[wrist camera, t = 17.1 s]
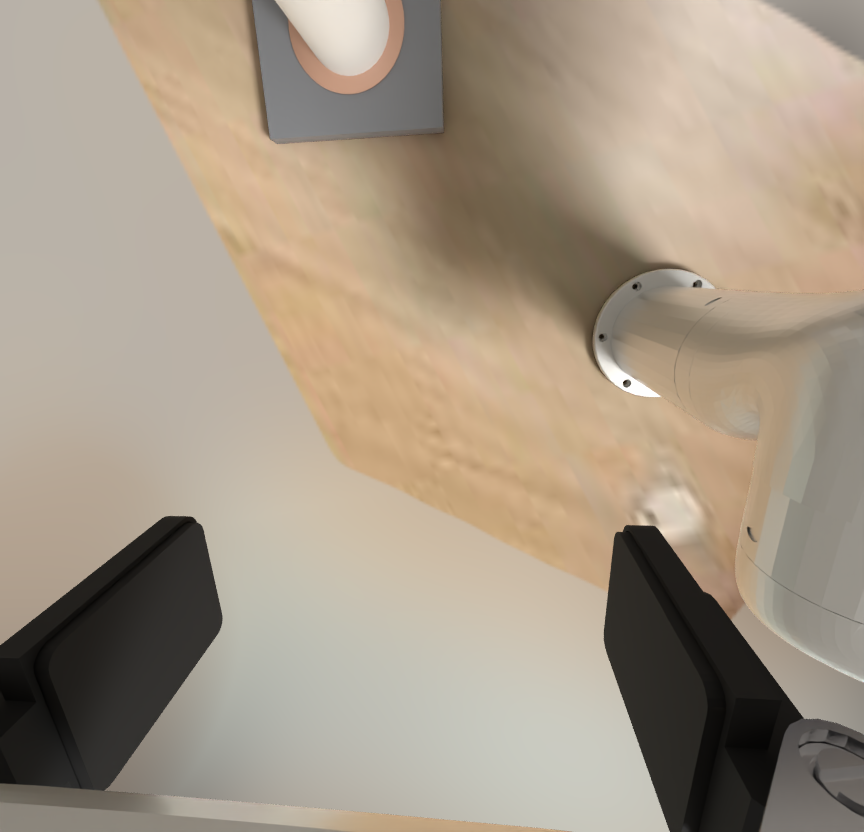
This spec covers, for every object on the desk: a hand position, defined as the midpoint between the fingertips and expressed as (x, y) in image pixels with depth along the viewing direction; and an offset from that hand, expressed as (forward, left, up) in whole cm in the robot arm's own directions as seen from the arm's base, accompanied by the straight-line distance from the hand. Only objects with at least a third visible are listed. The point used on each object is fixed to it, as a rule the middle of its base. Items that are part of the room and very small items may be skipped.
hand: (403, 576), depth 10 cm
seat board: (+9, -27, -38) cm, 48 cm away
